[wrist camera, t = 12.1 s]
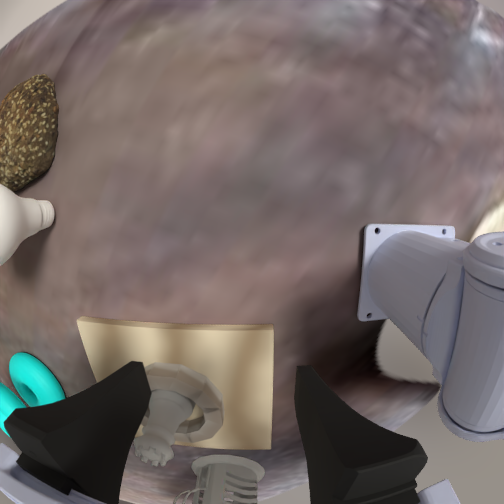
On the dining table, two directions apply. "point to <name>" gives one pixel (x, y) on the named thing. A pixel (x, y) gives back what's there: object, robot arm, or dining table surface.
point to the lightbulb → (20, 220)
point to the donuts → (28, 386)
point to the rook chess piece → (162, 426)
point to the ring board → (205, 355)
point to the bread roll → (27, 131)
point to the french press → (225, 480)
